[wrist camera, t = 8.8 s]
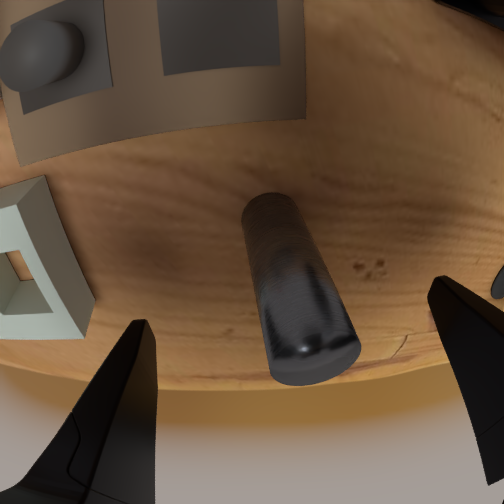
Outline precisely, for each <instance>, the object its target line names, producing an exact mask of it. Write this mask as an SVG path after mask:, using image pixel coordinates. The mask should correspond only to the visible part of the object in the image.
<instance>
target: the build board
mask: <svg viewBox="0 0 504 504" xmlns="http://www.w3.org/2000/svg"><path fill="white" fill-rule="evenodd" d="M15 250H20V252H21V254H22V256H23V258H24V260H25V262H26V264H27V266H28V268H29V270H30V272H31V274H32V276H33V278H34V280H27V281H20V280H19V278H18V276H17V274H16V273H15V271H14V269H13V267H12V265H11V263H10V261H9V259H8V257H7V256H6V254H5V252H9V251H15ZM94 304H95V299H94V297H93V295H92V292H91V290H90V288H89V286H88V284H87V282H86V280H85V278H84V276H83V274H82V271H81V269H80V267H79V265H78V262H77V260H76V258H75V256H74V253H73V251H72V249H71V246H70V244H69V241H68V239H67V236H66V234H65V231H64V229H63V226H62V224H61V221H60V218H59V216H58V213H57V210H56V208H55V205H54V202H53V199H52V196H51V193H50V190H49V187H48V184H47V181H46V178H45V175H43V176H39V177H36V178H32V179H29V180H25V181H22V182H19V183H16V184H12V185H9V186H6V187H3V188H0V339H27V340H43V339H85V336H86V332H87V328H88V325H89V321H90V318H91V314H92V311H93V308H94Z"/></svg>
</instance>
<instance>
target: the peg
mask: <svg viewBox="0 0 504 504" xmlns="http://www.w3.org/2000/svg"><path fill="white" fill-rule="evenodd" d="M241 222H242V228H243V233H244V238H245V244H246V249H247V254H248V259H249V265H250V270H251V275H252V280H253V286H254V291H255V296H256V301H257V307H258V312H259V317H260V322H261V327H262V333H263V338H264V343H265V348H266V353H267V359H268V364H269V369H270V374H271V376H272V377H273V378H274V379H275V380H276V381H278V382H280V383H282V384H286V385H291V386H305V385H312V384H316V383H320V382H323V381H326V380H329V379H331V378H333V377H335V376H337V375H339V374H341V373H342V372H344V371H345V370H347V369H348V368H349V367H350V366H351V365H352V364H353V363H354V362H355V361H356V360H357V358H358V357H359V355H360V352H361V343H360V341H359V339H358V336H357V334H356V332H355V329H354V327H353V325H352V322H351V320H350V318H349V316H348V313H347V311H346V309H345V307H344V304H343V302H342V300H341V298H340V296H339V293H338V291H337V289H336V287H335V285H334V282H333V280H332V278H331V276H330V274H329V272H328V270H327V267H326V265H325V263H324V261H323V259H322V257H321V255H320V253H319V251H318V249H317V247H316V245H315V242H314V240H313V238H312V236H311V234H310V232H309V230H308V228H307V226H306V224H305V222H304V220H303V218H302V216H301V214H300V212H299V210H298V208H297V206H296V205H295V203H294V202H293V201H292V200H291V199H290V198H289V197H287V196H285V195H283V194H280V193H265V194H262V195H259V196H257V197H255V198H254V199H253V200H251V201H250V202H249V203H248V204H247V206H246V207H245V209H244V211H243V213H242V218H241Z"/></svg>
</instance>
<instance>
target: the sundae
mask: <svg viewBox="0 0 504 504" xmlns="http://www.w3.org/2000/svg"><path fill="white" fill-rule="evenodd" d="M491 295H492V297H493V298H495V299H500V298H503V297H504V267H503V268H502V269H501V271H500V272H499V273H498V275H497V277H496V279H495V281H494V283H493V286H492V289H491Z"/></svg>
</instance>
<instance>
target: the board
mask: <svg viewBox="0 0 504 504" xmlns="http://www.w3.org/2000/svg"><path fill="white" fill-rule="evenodd" d="M0 85H1V90H2V96H3V101H4V106H5V111H6V115H7V120H8V124H9V128H10V132H11V136H12V140H13V144H14V147H15V151H16V154H17V158H18V161H19V164H20V167H22V166H25V165H29V164H32V163H35V162H38V161H42V160H45V159H48V158H52V157H55V156H59V155H62V154H66V153H70V152H74V151H78V150H82V149H86V148H90V147H94V146H98V145H102V144H107V143H111V142H116V141H121V140H126V139H131V138H136V137H141V136H147V135H152V134H158V133H164V132H171V131H177V130H184V129H191V128H199V127H207V126H215V125H225V124H235V123H246V122H259V121H275V120H297V119H306V61H305V28H304V6H303V0H0Z"/></svg>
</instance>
